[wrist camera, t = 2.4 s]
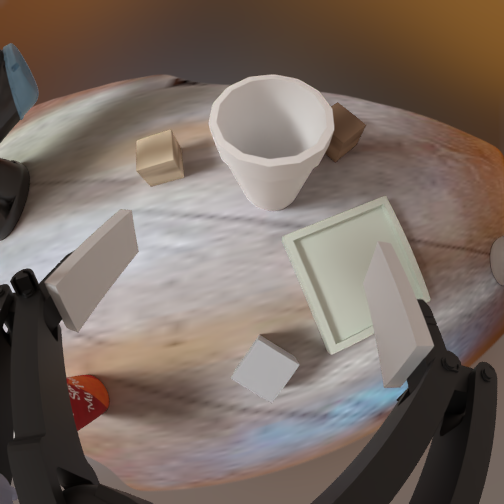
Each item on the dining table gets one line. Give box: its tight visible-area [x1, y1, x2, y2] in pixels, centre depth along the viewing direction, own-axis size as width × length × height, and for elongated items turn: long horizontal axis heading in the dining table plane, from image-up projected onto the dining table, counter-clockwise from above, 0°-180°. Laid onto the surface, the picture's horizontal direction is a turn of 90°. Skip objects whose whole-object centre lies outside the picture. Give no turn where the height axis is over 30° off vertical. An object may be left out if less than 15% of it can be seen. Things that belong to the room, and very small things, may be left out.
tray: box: [282, 195, 431, 355], centre depth 28 cm, size 13×13×2 cm
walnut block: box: [325, 102, 366, 162], centre depth 30 cm, size 4×4×4 cm
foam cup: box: [208, 74, 334, 211], centre depth 25 cm, size 10×9×13 cm
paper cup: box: [14, 375, 109, 438], centre depth 20 cm, size 8×8×14 cm
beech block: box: [136, 129, 184, 187], centre depth 30 cm, size 4×4×4 cm
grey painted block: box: [231, 334, 299, 403], centre depth 25 cm, size 4×4×4 cm
